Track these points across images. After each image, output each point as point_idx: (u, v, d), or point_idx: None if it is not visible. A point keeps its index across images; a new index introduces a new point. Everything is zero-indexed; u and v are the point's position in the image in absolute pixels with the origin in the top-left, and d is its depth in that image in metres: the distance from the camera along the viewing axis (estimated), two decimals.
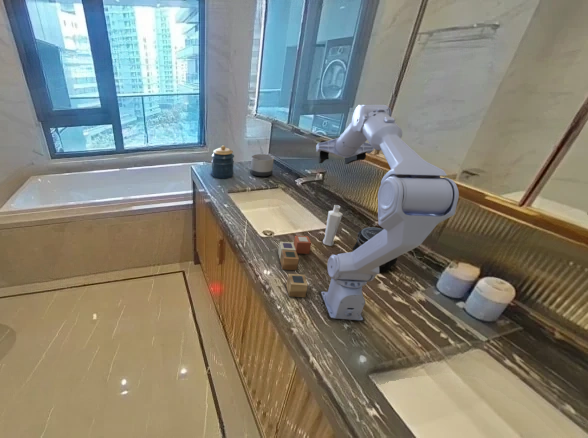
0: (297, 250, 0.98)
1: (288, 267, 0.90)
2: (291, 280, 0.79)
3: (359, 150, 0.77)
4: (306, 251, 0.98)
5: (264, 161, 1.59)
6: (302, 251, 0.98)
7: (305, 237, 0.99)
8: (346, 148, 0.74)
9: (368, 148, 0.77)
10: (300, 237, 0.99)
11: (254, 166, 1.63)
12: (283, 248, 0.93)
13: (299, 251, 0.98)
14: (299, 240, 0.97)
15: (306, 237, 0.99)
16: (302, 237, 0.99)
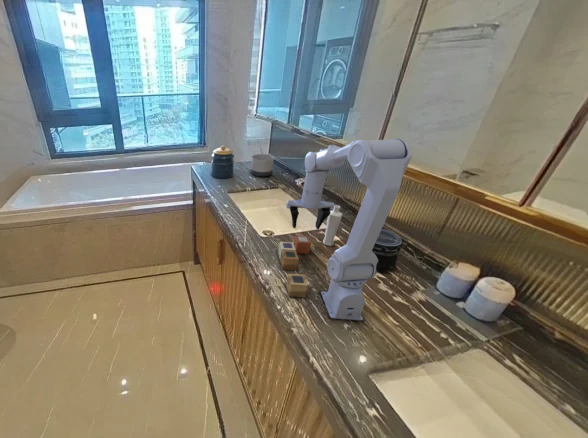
0: (297, 250, 0.98)
1: (288, 267, 0.90)
2: (291, 280, 0.79)
3: (322, 205, 0.90)
4: (306, 251, 0.98)
5: (264, 161, 1.59)
6: (302, 251, 0.98)
7: (305, 237, 0.99)
8: (309, 195, 0.88)
9: (330, 204, 0.91)
10: (300, 237, 0.99)
11: (254, 166, 1.63)
12: (283, 248, 0.93)
13: (299, 251, 0.98)
14: (299, 240, 0.97)
15: (306, 237, 0.99)
16: (302, 237, 0.99)
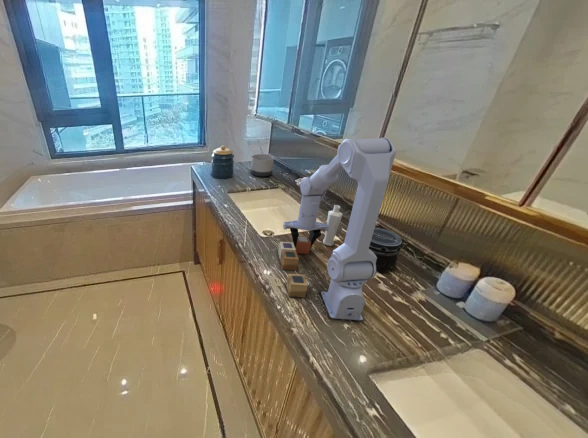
0: (297, 250, 0.98)
1: (288, 267, 0.90)
2: (291, 280, 0.79)
3: (318, 227, 0.94)
4: (306, 251, 0.98)
5: (264, 161, 1.59)
6: (302, 251, 0.98)
7: (305, 237, 0.99)
8: (305, 218, 0.91)
9: None
10: (300, 237, 0.99)
11: (254, 166, 1.63)
12: (283, 248, 0.93)
13: (299, 251, 0.98)
14: (299, 240, 0.97)
15: (306, 237, 0.99)
16: (302, 237, 0.99)
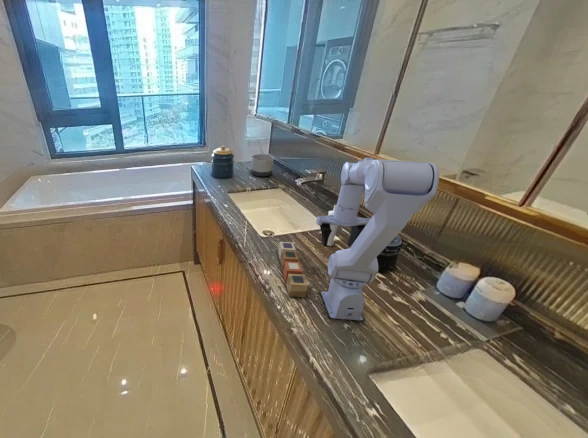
0: None
1: None
2: (291, 280, 0.79)
3: (358, 222, 0.81)
4: None
5: (264, 161, 1.59)
6: None
7: (296, 263, 0.86)
8: (345, 212, 0.78)
9: None
10: (291, 263, 0.86)
11: (254, 166, 1.63)
12: (283, 248, 0.93)
13: None
14: (289, 267, 0.84)
15: (298, 264, 0.86)
16: (293, 263, 0.86)
